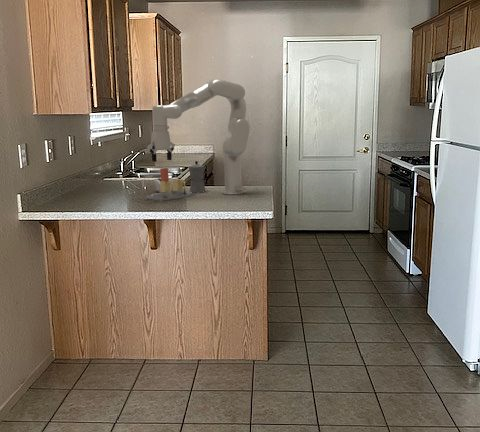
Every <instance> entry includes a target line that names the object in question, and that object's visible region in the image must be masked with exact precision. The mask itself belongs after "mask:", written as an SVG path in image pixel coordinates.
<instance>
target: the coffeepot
mask: <svg viewBox="0 0 480 432" xmlns="http://www.w3.org/2000/svg"><path fill="white" fill-rule="evenodd" d="M194 163H195V164H193V165H189V166H188V171H189V172H188V173H189V177H190V178H191V180H190V187H189V192H192V193H196V194H198V193H197V192H202V193H204V192H203V191H205V192H206V187H205V183H204V182H205V181H204V176H205V175H204V174H205V167H206V166H205V165H202V164H199V161H194Z"/></svg>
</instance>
